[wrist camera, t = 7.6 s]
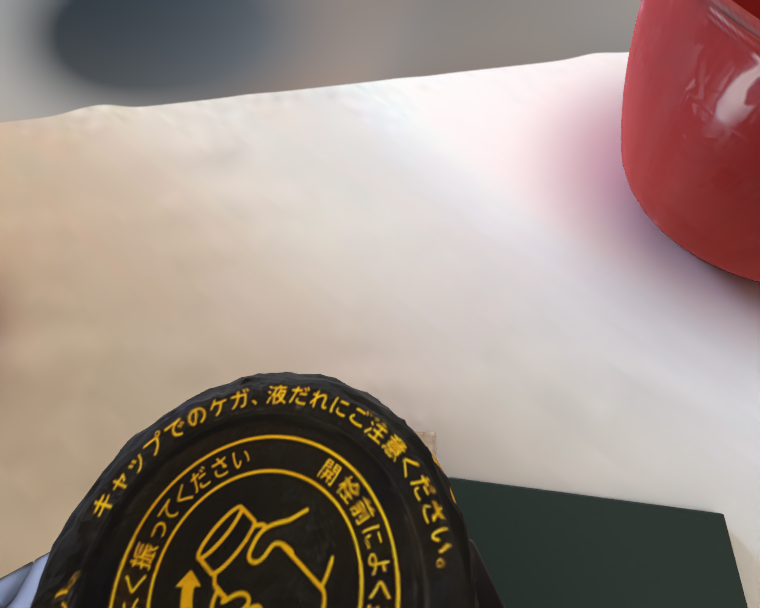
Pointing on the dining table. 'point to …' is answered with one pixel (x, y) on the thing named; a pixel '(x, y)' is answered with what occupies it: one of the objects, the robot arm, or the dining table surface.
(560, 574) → the placemat
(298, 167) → the dining table surface
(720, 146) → the mixing bowl
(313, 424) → the condiment
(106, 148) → the dining table surface
